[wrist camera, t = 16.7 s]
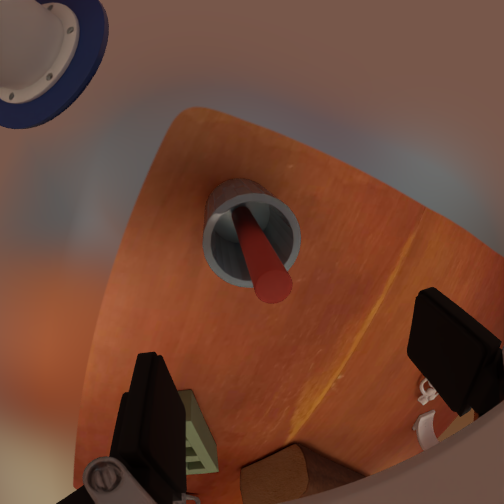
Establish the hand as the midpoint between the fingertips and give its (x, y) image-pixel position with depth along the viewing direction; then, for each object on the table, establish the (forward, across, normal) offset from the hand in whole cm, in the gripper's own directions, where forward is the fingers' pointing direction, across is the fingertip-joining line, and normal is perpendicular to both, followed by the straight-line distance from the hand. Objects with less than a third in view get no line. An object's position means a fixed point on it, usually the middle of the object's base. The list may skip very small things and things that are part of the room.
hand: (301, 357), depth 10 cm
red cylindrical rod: (+22, 0, 0) cm, 22 cm away
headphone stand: (+22, -34, +54) cm, 68 cm away
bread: (+23, -7, +63) cm, 67 cm away
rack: (+23, +14, +31) cm, 41 cm away
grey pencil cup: (+23, 0, 0) cm, 23 cm away
